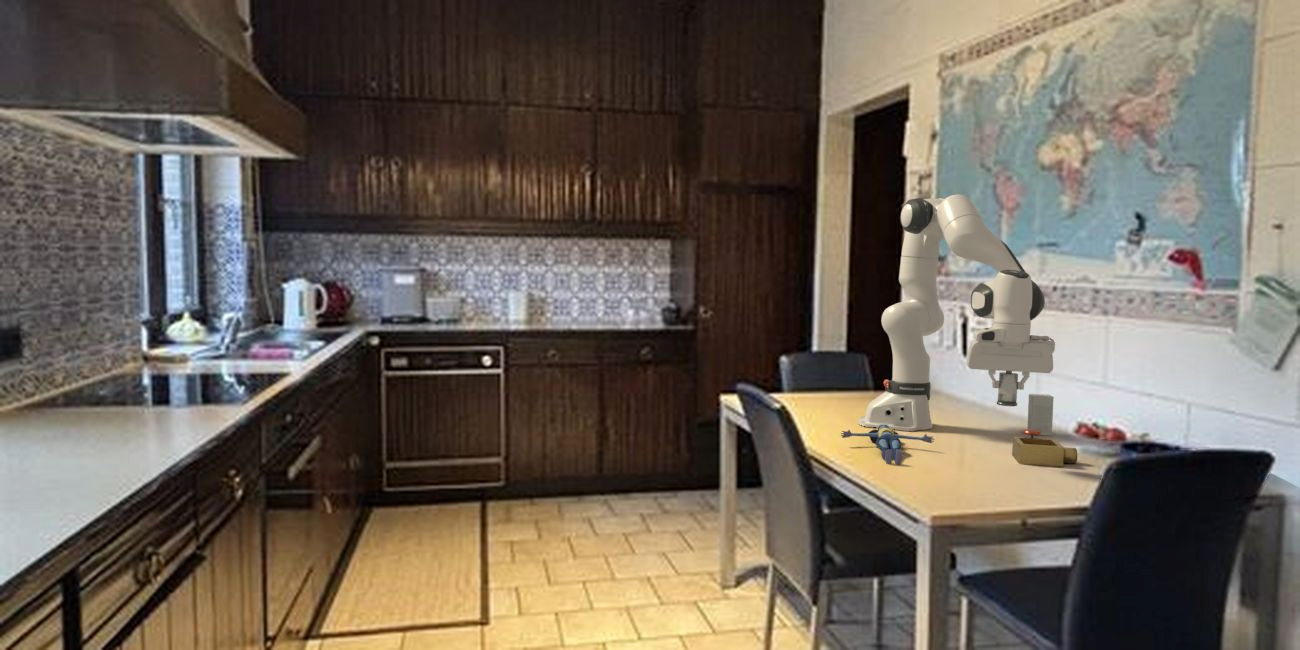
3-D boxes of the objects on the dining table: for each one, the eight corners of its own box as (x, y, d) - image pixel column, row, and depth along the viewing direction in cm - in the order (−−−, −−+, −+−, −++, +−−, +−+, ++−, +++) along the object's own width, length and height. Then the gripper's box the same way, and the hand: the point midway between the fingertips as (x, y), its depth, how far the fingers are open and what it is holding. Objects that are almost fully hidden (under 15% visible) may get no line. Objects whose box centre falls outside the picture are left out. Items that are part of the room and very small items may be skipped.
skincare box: (1046, 433, 262) (1049, 394, 261) (1052, 436, 258) (1054, 396, 257) (1026, 432, 262) (1028, 393, 262) (1031, 435, 258) (1033, 395, 257)
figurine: (895, 466, 216) (895, 445, 215) (826, 446, 238) (827, 427, 238) (954, 457, 226) (955, 437, 226) (883, 439, 249) (884, 421, 248)
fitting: (1019, 463, 220) (1020, 439, 220) (1008, 451, 235) (1010, 428, 235) (1080, 468, 217) (1081, 443, 216) (1065, 454, 232) (1067, 431, 231)
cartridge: (998, 405, 217) (1000, 370, 216) (995, 402, 221) (997, 367, 220) (1018, 406, 215) (1020, 371, 215) (1015, 403, 220) (1017, 368, 219)
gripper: (1052, 335, 218) (1049, 389, 219) (967, 331, 222) (964, 384, 223) (1058, 337, 211) (1054, 392, 213) (970, 333, 216) (967, 387, 217)
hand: (1007, 388), depth 218 cm, fingers closed on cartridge, 4 cm apart
